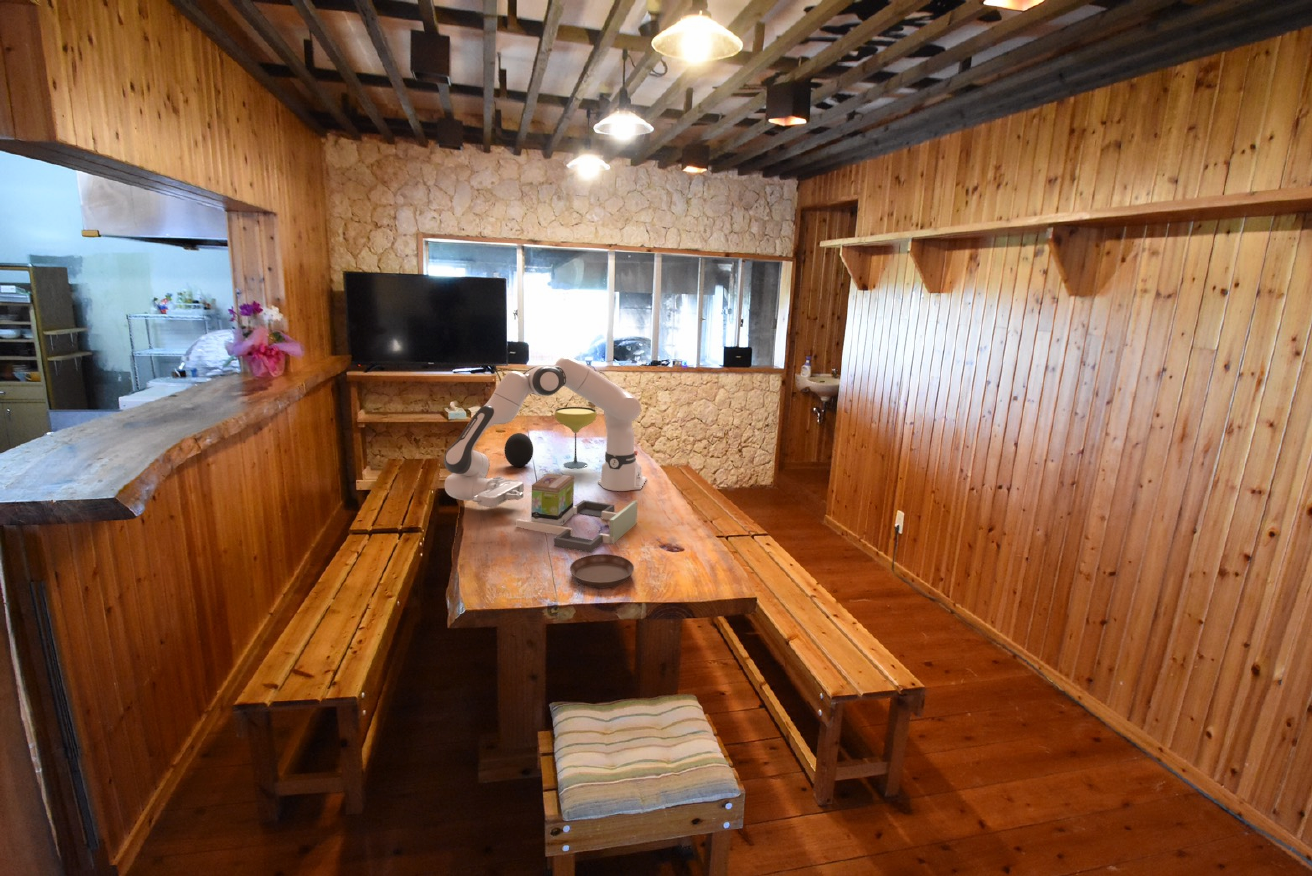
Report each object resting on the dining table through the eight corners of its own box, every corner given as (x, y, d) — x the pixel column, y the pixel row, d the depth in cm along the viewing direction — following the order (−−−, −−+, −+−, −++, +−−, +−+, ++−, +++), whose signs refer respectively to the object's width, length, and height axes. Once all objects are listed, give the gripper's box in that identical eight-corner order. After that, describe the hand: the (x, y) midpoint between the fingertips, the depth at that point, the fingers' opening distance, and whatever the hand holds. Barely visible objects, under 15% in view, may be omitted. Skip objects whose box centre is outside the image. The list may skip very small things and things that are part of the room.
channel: (547, 508, 229) (546, 487, 227) (636, 523, 217) (637, 500, 216) (516, 527, 210) (515, 504, 208) (612, 544, 199) (613, 520, 197)
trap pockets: (583, 506, 232) (583, 500, 231) (635, 514, 225) (635, 508, 225) (531, 541, 198) (531, 534, 198) (590, 552, 192) (590, 544, 191)
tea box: (559, 530, 209) (559, 487, 205) (530, 527, 210) (529, 484, 207) (574, 515, 223) (574, 474, 220) (547, 512, 225) (546, 472, 221)
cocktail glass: (602, 463, 290) (603, 409, 284) (582, 473, 274) (582, 416, 268) (569, 458, 297) (569, 405, 291) (547, 467, 281) (546, 411, 275)
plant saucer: (609, 597, 165) (609, 587, 164) (556, 580, 174) (556, 569, 173) (645, 573, 180) (646, 563, 179) (595, 558, 188) (595, 549, 188)
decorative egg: (499, 468, 276) (498, 434, 273) (513, 461, 288) (513, 429, 284) (525, 471, 273) (524, 437, 269) (538, 464, 284) (538, 431, 281)
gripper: (468, 490, 213) (504, 496, 209) (502, 475, 232) (536, 480, 228) (469, 508, 215) (504, 514, 210) (503, 491, 234) (536, 496, 229)
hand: (521, 496), depth 219 cm, fingers closed
